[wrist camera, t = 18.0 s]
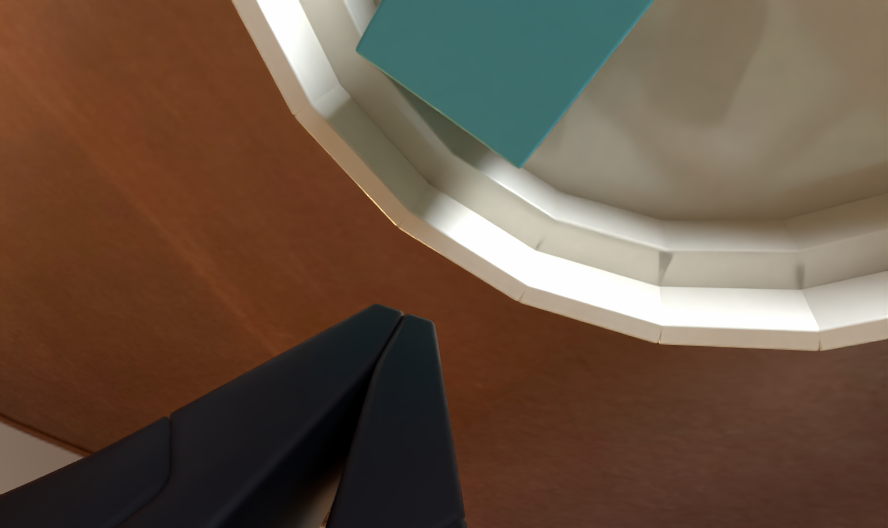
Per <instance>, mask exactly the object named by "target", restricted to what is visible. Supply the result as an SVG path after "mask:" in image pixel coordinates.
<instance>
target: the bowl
mask: <svg viewBox="0 0 888 528" xmlns="http://www.w3.org/2000/svg"><path fill="white" fill-rule="evenodd" d="M231 1H232V3H233V4H234V6H235V8H236V10H237V12H238V14H239V16H240V17H241V19H242V21H243V23H244V25H245V27H246V29H247V31H248V32H249V34H250V36H251V38H252V40H253V42H254V44H255V45H256V47H257V49H258V51H259V53H260V55H261V57H262V59H263V60H264V62H265V64H266V66H267V68H268V70H269V72H270V73H271V75H272V77H273V79H274V81H275V83H276V85H277V87H278V88H279V90H280V92H281V94H282V96H283V98H284V100H285V101H286V103H287V105H288V107H289V109H290V111H291V113H292V114H293V115H295V118H296V119H297V120H298V121H299V122H300V124H301V125H302V126H303V127H304V128H305V129H306V130H307V131H308V132H309V133H310V134H311V135H312V136H313V138H314V139H315V140H316V141H317V142H318V143H319V144H320V145H321V146H322V147H323V148H324V149H325V150H326V152H327V153H328V154H329V155H330V156H331V157H332V158H333V159H334V160H335V161H336V162H337V163H338V164H339V166H340V167H341V168H342V169H343V170H344V171H345V172H346V173H347V174H348V175H349V176H350V177H351V178H352V180H353V181H354V182H355V183H356V184H357V185H358V186H359V187H360V188H361V189H362V190H363V191H364V192H365V193H366V195H367V196H368V197H369V198H370V199H371V200H372V201H373V202H374V203H375V204H376V205H377V206H378V207H379V209H380V210H381V211H382V212H383V213H384V214H385V215H386V216H387V217H388V218H389V219H390V220H391V221H392V223H393V224H394V225H396V226H397V225H398V228H399V229H401V230H402V231H404V232H405V233H407V234H409V235H410V236H412V237H414V238H415V239H417V240H418V241H420V242H422V243H423V244H425V245H426V246H428V247H430V248H431V249H433V250H435V251H436V252H438V253H439V254H441V255H443V256H444V257H446V258H447V259H449V260H451V261H452V262H454V263H456V264H457V265H459V266H460V267H462V268H464V269H465V270H467V271H468V272H470V273H472V274H473V275H475V276H477V277H478V278H480V279H481V280H483V281H485V282H486V283H488V284H489V285H491V286H493V287H494V288H496V289H498V290H499V291H501V292H502V293H504V294H506V295H507V296H509V297H510V298H512V299H514V300H515V301H518V300H519V302H520V303H522V304H526V305H529V306H532V307H536V308H539V309H542V310H546V311H549V312H552V313H556V314H559V315H562V316H566V317H569V318H573V319H576V320H579V321H583V322H586V323H589V324H593V325H596V326H599V327H603V328H606V329H609V330H613V331H616V332H619V333H623V334H626V335H629V336H633V337H636V338H639V339H643V340H646V341H649V342H653V343H658V342H659V344H668V345H691V346H714V347H736V348H759V349H782V350H805V351H818V350H819V349H820V350H821V351H825V350H830V349H836V348H841V347H847V346H852V345H858V344H863V343H869V342H874V341H880V340H885V339H888V0H655V1H654V2H653V3H652V5H651V6H650V7H649V9H648V10H647V11H646V12H645V14H644V15H643V16H642V17H641V19H640V20H639V21H638V22H637V24H636V25H635V26H634V27H633V29H632V30H631V31H630V32H629V34H628V35H627V36H626V37H625V39H624V40H623V41H622V42H621V44H620V45H619V46H618V48H617V49H616V50H615V51H614V53H613V54H612V55H611V56H610V58H609V59H608V60H607V61H606V63H605V64H604V65H603V66H602V68H601V69H600V70H599V71H598V73H597V74H596V75H595V76H594V78H593V79H592V80H591V81H590V83H589V84H588V85H587V87H586V88H585V89H584V90H583V92H582V93H581V94H580V95H579V97H578V98H577V99H576V100H575V102H574V103H573V104H572V105H571V107H570V108H569V109H568V110H567V112H566V113H565V114H564V115H563V117H562V118H561V119H560V120H559V122H558V123H557V124H556V125H555V127H554V128H553V129H552V131H551V132H550V133H549V134H548V136H547V137H546V138H545V139H544V141H543V142H542V143H541V144H540V146H539V147H538V148H537V149H536V151H535V152H534V153H533V154H532V156H531V157H530V158H529V159H528V161H527V162H526V163H525V164H524V166H523V167H522V168H520V169H518V168H516V167H515V166H513V165H512V164H510V163H509V162H508V161H506V160H505V159H503V158H502V157H501V156H499V155H498V154H496V153H495V152H494V151H492V150H491V149H489V148H488V147H487V146H485V145H484V144H483V143H481V142H480V141H478V140H477V139H476V138H474V137H473V136H471V135H470V134H469V133H467V132H466V131H464V130H463V129H462V128H460V127H459V126H457V125H456V124H455V123H453V122H452V121H450V120H449V119H448V118H446V117H445V116H444V115H442V114H441V113H439V112H438V111H437V110H435V109H434V108H432V107H431V106H430V105H428V104H427V103H425V102H424V101H423V100H421V99H420V98H418V97H417V96H416V95H414V94H413V93H412V92H410V91H409V90H407V89H406V88H405V87H403V86H402V85H400V84H399V83H398V82H396V81H395V80H393V79H392V78H391V77H389V76H388V75H386V74H385V73H384V72H382V71H381V70H379V69H378V68H377V67H375V66H374V65H373V64H371V63H370V62H368V61H367V60H366V59H364V58H363V57H361V56H360V55H359V54H357V53H356V46H357V45H358V43H359V41H360V39H361V37H362V35H363V33H364V32H365V30H366V28H367V26H368V24H369V22H370V20H371V19H372V17H373V15H374V13H375V11H376V9H377V7H378V5H379V4H380V2H381V0H231Z"/></svg>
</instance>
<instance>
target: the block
mask: <svg viewBox="0 0 888 528" xmlns="http://www.w3.org/2000/svg"><path fill="white" fill-rule="evenodd" d="M654 1H655V0H381V2H380V4H379V5H378V7H377V9H376V11H375V13H374V15H373V17H372V19H371V20H370V22H369V24H368V26H367V28H366V30H365V32H364V33H363V35H362V37H361V39H360V41H359V43H358V45H357V46H356V53H357V54H359V55H360V56H361V57H363V58H364V59H366V60H367V61H368V62H370V63H371V64H373V65H374V66H375V67H377V68H378V69H379V70H381V71H382V72H384V73H385V74H386V75H388V76H389V77H391V78H392V79H393V80H395V81H396V82H398V83H399V84H400V85H402V86H403V87H405V88H406V89H407V90H409V91H410V92H412V93H413V94H414V95H416V96H417V97H418V98H420V99H421V100H423V101H424V102H425V103H427V104H428V105H430V106H431V107H432V108H434V109H435V110H437V111H438V112H439V113H441V114H442V115H444V116H445V117H446V118H448V119H449V120H450V121H452V122H453V123H455V124H456V125H457V126H459V127H460V128H462V129H463V130H464V131H466V132H467V133H469V134H470V135H471V136H473V137H474V138H476V139H477V140H478V141H480V142H481V143H483V144H484V145H485V146H487V147H488V148H489V149H491V150H492V151H494V152H495V153H496V154H498V155H499V156H501V157H502V158H503V159H505V160H506V161H508V162H509V163H510V164H512V165H513V166H515V167H516V168H518V169H520V168H522V167H523V166H524V164H525V163H526V162H527V161H528V159H529V158H530V157H531V156H532V154H533V153H534V152H535V151H536V149H537V148H538V147H539V146H540V144H541V143H542V142H543V141H544V139H545V138H546V137H547V136H548V134H549V133H550V132H551V131H552V129H553V128H554V127H555V125H556V124H557V123H558V122H559V120H560V119H561V118H562V117H563V115H564V114H565V113H566V112H567V110H568V109H569V108H570V107H571V105H572V104H573V103H574V102H575V100H576V99H577V98H578V97H579V95H580V94H581V93H582V92H583V90H584V89H585V88H586V87H587V85H588V84H589V83H590V81H591V80H592V79H593V78H594V76H595V75H596V74H597V73H598V71H599V70H600V69H601V68H602V66H603V65H604V64H605V63H606V61H607V60H608V59H609V58H610V56H611V55H612V54H613V53H614V51H615V50H616V49H617V48H618V46H619V45H620V44H621V42H622V41H623V40H624V39H625V37H626V36H627V35H628V34H629V32H630V31H631V30H632V29H633V27H634V26H635V25H636V24H637V22H638V21H639V20H640V19H641V17H642V16H643V15H644V14H645V12H646V11H647V10H648V9H649V7H650V6H651V5H652V3H653V2H654Z"/></svg>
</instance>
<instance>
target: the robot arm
mask: <svg viewBox="0 0 888 528" xmlns="http://www.w3.org/2000/svg"><path fill="white" fill-rule="evenodd" d="M331 506H332V508H331V511H330V514H329V518H328V521H327V524H326V528H468V527H467V523H466V521H465V520H464V519H465V511H464V504H463V498H462V492H461V485H460V479H459V473H458V466H457V460H456V454H455V447H454V441H453V435H452V428H451V422H450V416H449V409H448V403H447V397H446V391H445V384H444V378H443V372H442V365H441V359H440V353H439V346H438V340H437V334H436V327H435V324H434V322H433V321H431V320H428V319H425V318H422V317H419V316H415V315H412V314H406V315H405V316H404V315H403V313H402V311H400V310H397V309H394V308H391V307H388V306H385V305H381V304H373V305H371V306H369V307H367V308H365V309H364V310H362V311H360V312H358V313H356V314H354V315H352V316H351V317H349V318H347V319H345V320H343V321H341V322H339V323H338V324H336V325H334V326H332V327H330V328H328V329H326V330H325V331H323V332H321V333H319V334H317V335H315V336H313V337H312V338H310V339H308V340H306V341H304V342H302V343H300V344H299V345H297V346H295V347H293V348H291V349H289V350H287V351H286V352H284V353H282V354H280V355H278V356H276V357H274V358H273V359H271V360H269V361H267V362H265V363H263V364H261V365H259V366H258V367H256V368H254V369H252V370H250V371H248V372H246V373H245V374H243V375H241V376H239V377H237V378H235V379H233V380H232V381H230V382H228V383H226V384H224V385H222V386H220V387H219V388H217V389H215V390H213V391H211V392H209V393H207V394H206V395H204V396H202V397H200V398H198V399H196V400H194V401H193V402H191V403H189V404H187V405H185V406H183V407H181V408H180V409H178V410H176V411H174V412H172V413H171V414H170V419H169V418H168V417H162V418H160V419H159V420H157V421H155V422H153V423H151V424H149V425H147V426H146V427H144V428H142V429H140V430H138V431H136V432H134V433H132V434H130V435H128V436H126V437H124V438H122V439H120V440H119V441H117V442H115V443H113V444H111V445H109V446H107V447H105V448H103V449H101V450H99V451H97V452H95V453H93V454H91V455H89V456H87V457H84V458H82V459H80V460H78V461H76V462H73V463H71V464H69V465H67V466H65V467H63V468H60V469H58V470H56V471H54V472H51V473H49V474H47V475H45V476H43V477H40V478H38V479H36V480H34V481H31V482H29V483H27V484H24V485H22V486H20V487H18V488H15V489H13V490H10V491H8V492H6V493H4V494H1V495H0V528H319V527H320V525H321V524H322V522H323V520H324V518H325V516H326V515H327V513H328V511H329V509H330V507H331Z"/></svg>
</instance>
